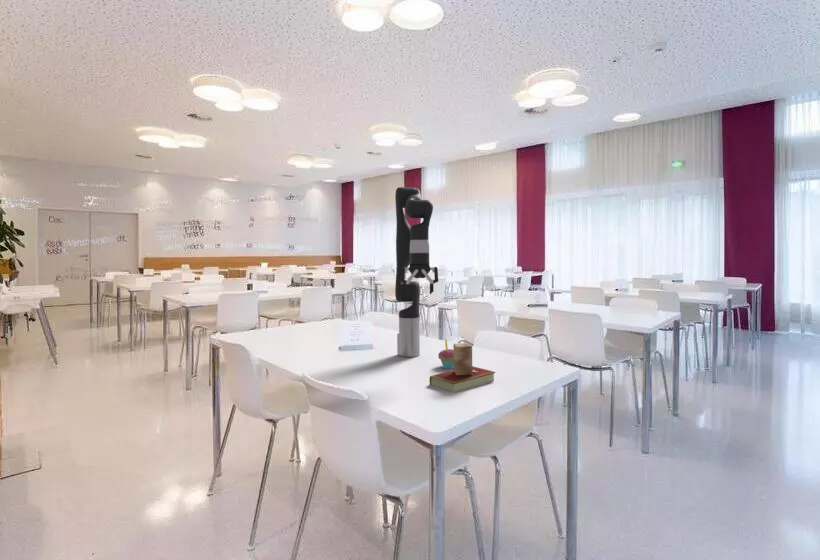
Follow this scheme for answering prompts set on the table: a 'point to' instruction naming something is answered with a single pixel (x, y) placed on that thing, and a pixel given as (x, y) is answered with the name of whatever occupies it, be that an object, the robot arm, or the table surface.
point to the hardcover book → (462, 379)
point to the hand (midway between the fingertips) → (419, 293)
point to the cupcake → (447, 357)
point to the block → (463, 359)
